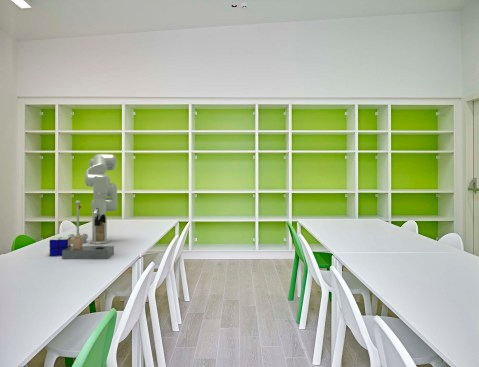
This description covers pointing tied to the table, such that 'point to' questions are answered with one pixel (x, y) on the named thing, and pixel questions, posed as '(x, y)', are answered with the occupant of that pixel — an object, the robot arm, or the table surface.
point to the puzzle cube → (59, 245)
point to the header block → (88, 252)
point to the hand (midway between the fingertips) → (100, 224)
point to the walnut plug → (100, 232)
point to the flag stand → (78, 227)
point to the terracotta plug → (77, 242)
